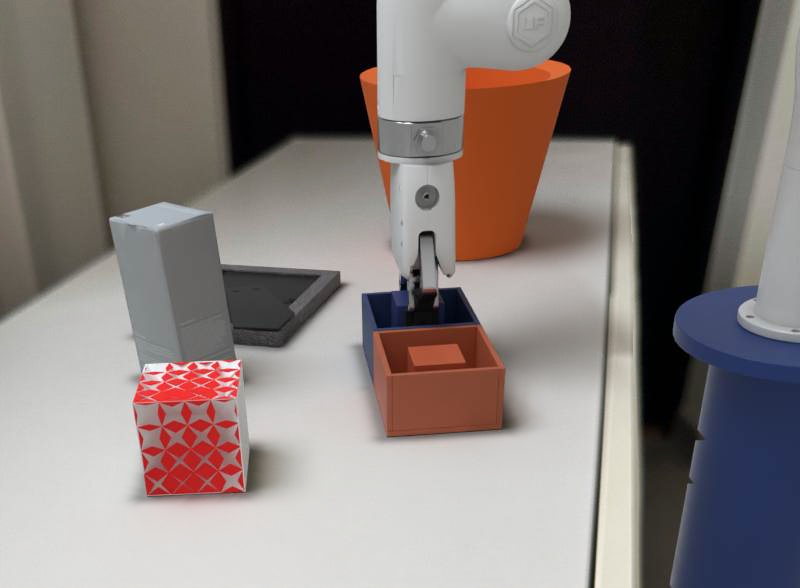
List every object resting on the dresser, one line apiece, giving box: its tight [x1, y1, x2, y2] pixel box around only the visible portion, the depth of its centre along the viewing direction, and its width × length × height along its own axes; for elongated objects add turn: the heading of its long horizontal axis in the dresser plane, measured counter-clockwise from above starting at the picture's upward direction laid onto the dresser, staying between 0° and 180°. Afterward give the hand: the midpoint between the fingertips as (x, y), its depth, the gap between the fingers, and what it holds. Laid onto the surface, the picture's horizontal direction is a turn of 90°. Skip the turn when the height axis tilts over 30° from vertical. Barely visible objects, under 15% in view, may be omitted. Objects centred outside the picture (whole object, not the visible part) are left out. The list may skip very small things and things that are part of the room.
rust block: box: [408, 344, 466, 373], centre depth 94 cm, size 4×4×4 cm
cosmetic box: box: [108, 201, 237, 375], centre depth 99 cm, size 8×7×16 cm
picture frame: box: [221, 263, 342, 348], centre depth 119 cm, size 16×2×21 cm
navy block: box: [391, 289, 445, 328], centre depth 102 cm, size 4×4×4 cm
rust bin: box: [373, 323, 506, 438], centre depth 94 cm, size 10×11×6 cm
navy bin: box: [361, 286, 482, 388], centre depth 103 cm, size 10×11×6 cm
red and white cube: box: [132, 359, 251, 497], centre depth 85 cm, size 8×8×8 cm
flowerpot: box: [359, 59, 572, 262], centre depth 131 cm, size 25×25×20 cm
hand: (417, 338), depth 103 cm, fingers closed on navy block, 4 cm apart
